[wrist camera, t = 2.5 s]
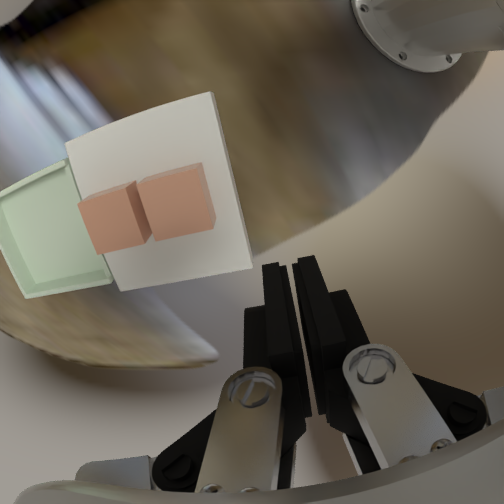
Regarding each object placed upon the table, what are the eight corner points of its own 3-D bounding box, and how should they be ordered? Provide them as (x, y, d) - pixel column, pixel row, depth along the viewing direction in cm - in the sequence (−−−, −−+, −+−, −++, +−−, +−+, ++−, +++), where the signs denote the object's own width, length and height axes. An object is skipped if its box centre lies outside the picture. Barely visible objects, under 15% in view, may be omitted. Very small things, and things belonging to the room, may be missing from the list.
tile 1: (135, 180, 25) (125, 187, 22) (153, 231, 27) (144, 244, 25) (89, 194, 25) (77, 203, 23) (107, 243, 27) (97, 255, 25)
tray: (78, 153, 26) (63, 159, 23) (121, 268, 31) (111, 283, 29) (-3, 194, 27) (-18, 202, 24) (36, 286, 33) (25, 299, 30)
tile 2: (201, 161, 24) (196, 168, 22) (216, 217, 26) (213, 229, 24) (146, 176, 24) (136, 184, 22) (163, 229, 27) (155, 241, 25)
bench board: (213, 92, 24) (210, 91, 21) (252, 255, 31) (252, 268, 29) (77, 139, 25) (64, 143, 23) (128, 278, 32) (120, 291, 30)
